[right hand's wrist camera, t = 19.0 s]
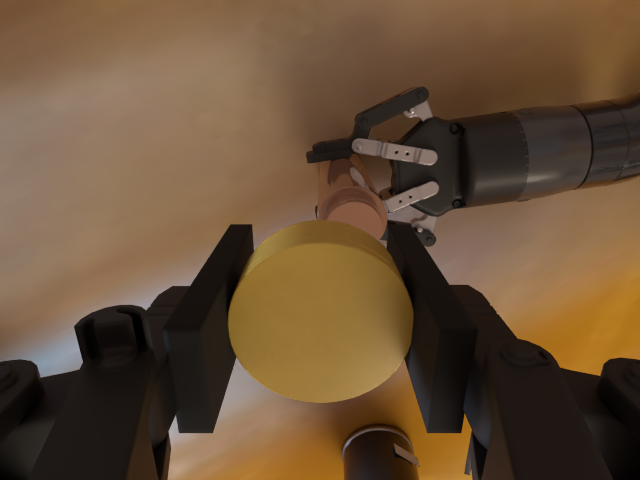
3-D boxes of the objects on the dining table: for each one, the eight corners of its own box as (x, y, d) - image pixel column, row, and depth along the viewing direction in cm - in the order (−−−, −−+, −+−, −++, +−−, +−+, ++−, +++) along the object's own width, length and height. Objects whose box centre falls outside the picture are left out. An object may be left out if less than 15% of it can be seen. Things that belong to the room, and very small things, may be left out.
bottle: (367, 179, 41) (401, 248, 23) (328, 194, 41) (332, 273, 24) (353, 140, 39) (377, 181, 22) (313, 156, 40) (304, 209, 22)
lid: (250, 205, 11) (237, 226, 9) (420, 235, 11) (438, 260, 10) (232, 350, 13) (218, 390, 11) (380, 372, 13) (389, 414, 11)
